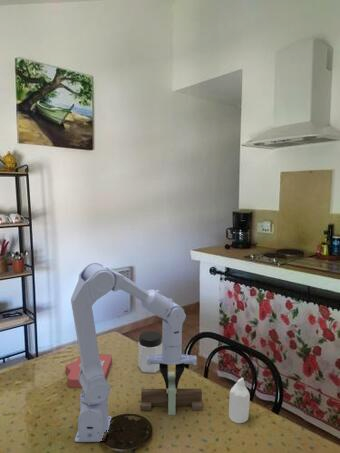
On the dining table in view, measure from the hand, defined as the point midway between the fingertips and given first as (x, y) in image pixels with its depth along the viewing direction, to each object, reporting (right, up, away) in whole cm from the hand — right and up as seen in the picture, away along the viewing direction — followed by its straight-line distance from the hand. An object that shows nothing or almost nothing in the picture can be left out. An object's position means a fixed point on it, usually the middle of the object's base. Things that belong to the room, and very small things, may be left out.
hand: (171, 386), depth 102 cm
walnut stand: (0, -6, +1) cm, 6 cm away
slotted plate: (0, -6, +1) cm, 6 cm away
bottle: (+19, -6, -5) cm, 21 cm away
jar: (-8, -4, +22) cm, 24 cm away
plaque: (-30, -4, +18) cm, 35 cm away
